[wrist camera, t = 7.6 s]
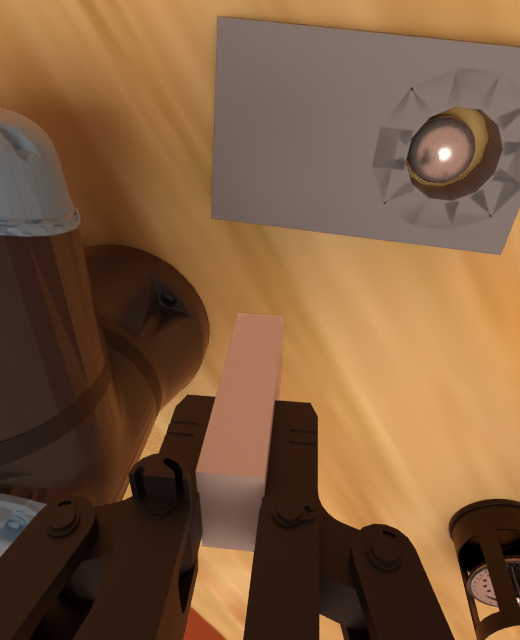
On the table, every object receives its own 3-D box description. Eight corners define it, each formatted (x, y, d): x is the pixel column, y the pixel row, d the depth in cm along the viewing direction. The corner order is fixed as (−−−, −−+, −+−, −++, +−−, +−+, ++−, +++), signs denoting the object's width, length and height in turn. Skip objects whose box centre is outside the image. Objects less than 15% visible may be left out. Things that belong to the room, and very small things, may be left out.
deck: (219, 204, 36) (211, 218, 33) (227, 16, 29) (217, 16, 27) (488, 237, 35) (500, 254, 32) (558, 50, 28) (580, 53, 26)
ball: (476, 191, 30) (443, 172, 33) (498, 124, 28) (461, 110, 31) (419, 191, 29) (391, 171, 32) (437, 122, 27) (405, 109, 30)
